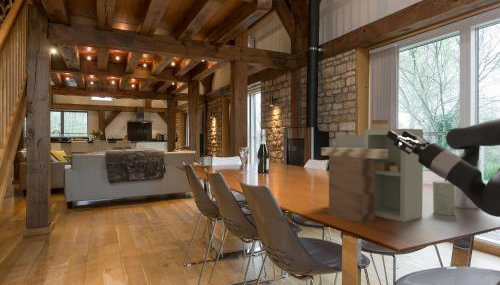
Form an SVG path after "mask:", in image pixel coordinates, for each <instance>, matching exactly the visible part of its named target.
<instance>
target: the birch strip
mask: <svg viewBox="0 0 500 285" xmlns="http://www.w3.org/2000/svg"><path fill="white" fill-rule="evenodd" d="M320 156H325V157H326V156H327V157H329V156H342V157H358V158H374V159H388V149H359V148H337V147H327V146H326V147H320Z"/></svg>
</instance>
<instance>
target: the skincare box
mask: <svg viewBox="0 0 500 285" xmlns="http://www.w3.org/2000/svg"><path fill="white" fill-rule="evenodd" d="M432 205H433V206H432V207H433V208H432V210H433V214H438V215H443V216H452V215H455V213H456V212H455V210H456V207H455V206H454V185H453V184H452V183H450V182H449V181H444V180H441V181H440V180H436V181H432Z"/></svg>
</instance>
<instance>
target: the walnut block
mask: <svg viewBox="0 0 500 285" xmlns="http://www.w3.org/2000/svg"><path fill="white" fill-rule="evenodd" d="M328 215H329V216H331V217H337V218H340V219H344V220H348V221H353V222H357V223H360V224H361V223H366V222H370V221H374V219H376V216H375V159H374V158H358V157H342V156H328Z"/></svg>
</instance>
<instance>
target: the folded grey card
mask: <svg viewBox="0 0 500 285" xmlns="http://www.w3.org/2000/svg"><path fill="white" fill-rule="evenodd" d="M336 148H359V149H365V134H339V135H338V134H337V135H336Z"/></svg>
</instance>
